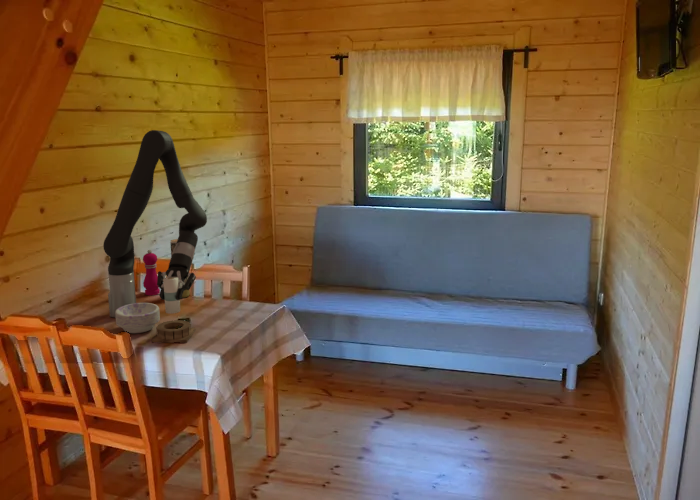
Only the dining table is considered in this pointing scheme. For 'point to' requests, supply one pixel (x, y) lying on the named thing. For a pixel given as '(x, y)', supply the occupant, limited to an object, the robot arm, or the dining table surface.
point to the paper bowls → (137, 317)
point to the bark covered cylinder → (187, 292)
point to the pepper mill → (150, 274)
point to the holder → (173, 332)
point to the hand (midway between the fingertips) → (169, 298)
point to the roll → (171, 295)
